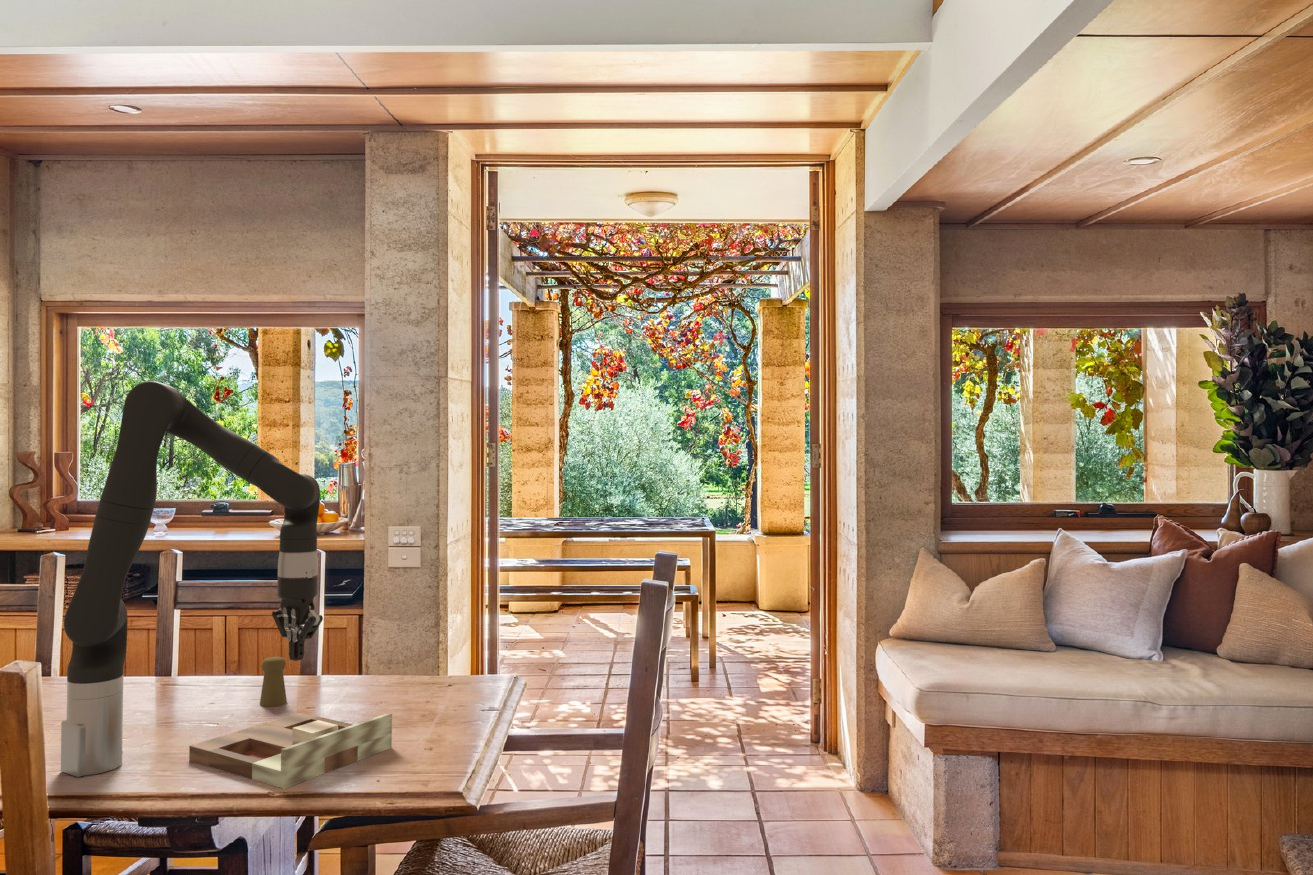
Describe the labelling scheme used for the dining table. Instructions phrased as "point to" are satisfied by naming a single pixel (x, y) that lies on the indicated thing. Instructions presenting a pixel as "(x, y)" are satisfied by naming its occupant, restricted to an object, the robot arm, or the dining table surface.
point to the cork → (273, 682)
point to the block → (311, 731)
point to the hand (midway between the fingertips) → (296, 659)
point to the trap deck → (292, 749)
